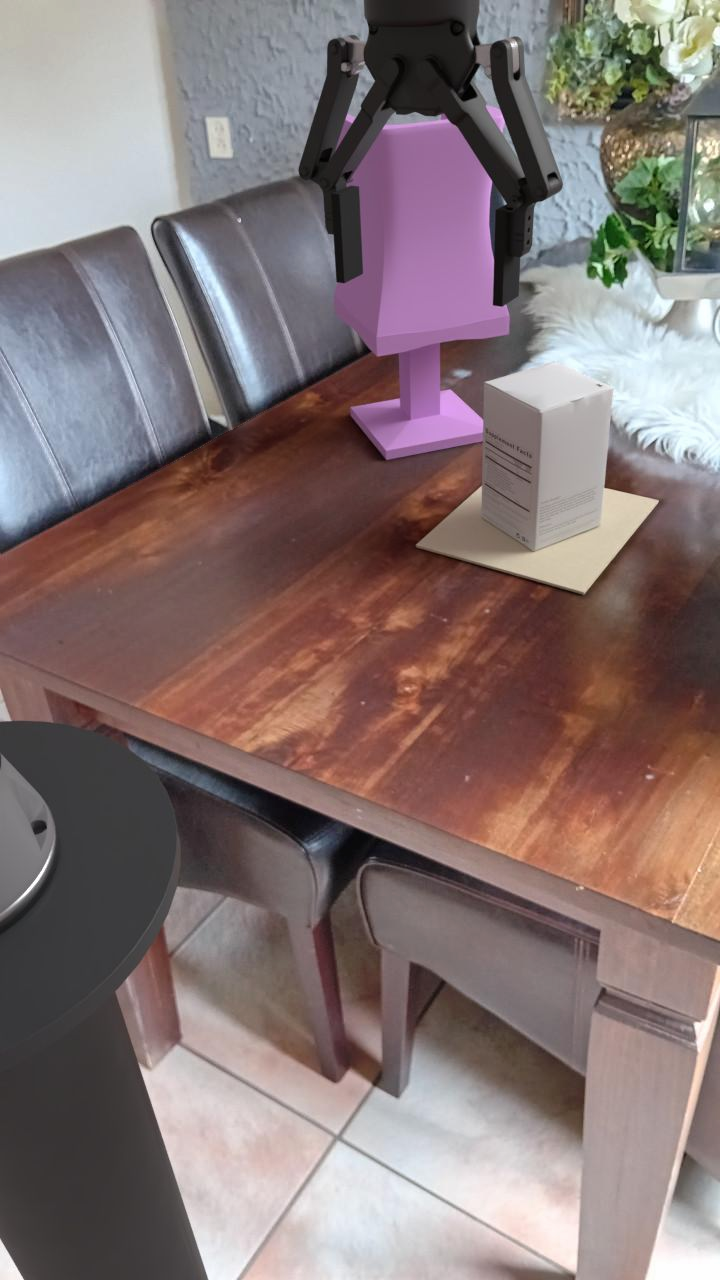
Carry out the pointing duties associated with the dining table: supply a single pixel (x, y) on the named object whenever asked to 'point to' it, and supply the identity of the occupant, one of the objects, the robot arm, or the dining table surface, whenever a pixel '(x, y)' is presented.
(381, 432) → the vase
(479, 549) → the placemat
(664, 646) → the dining table surface
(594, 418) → the rectangular carton
